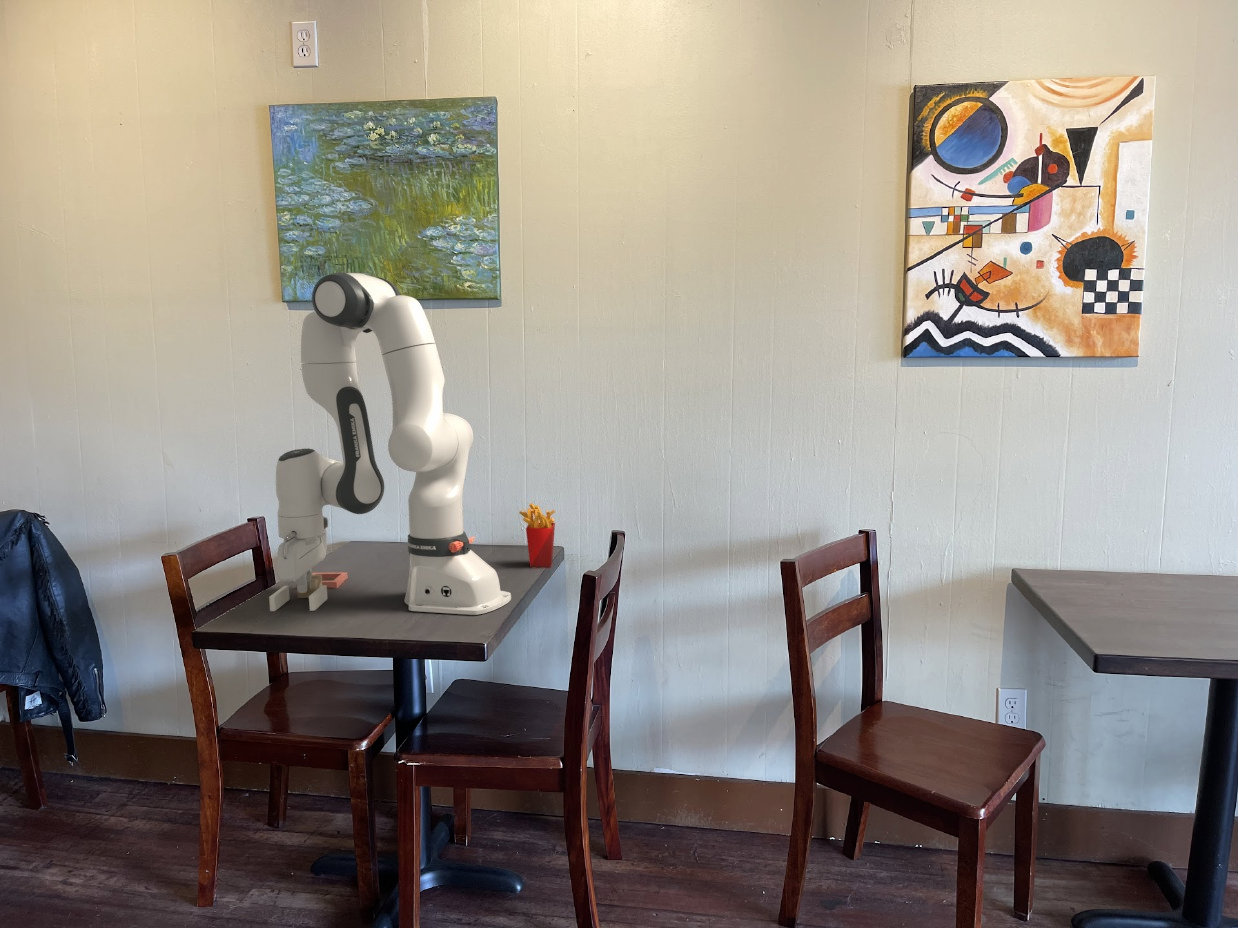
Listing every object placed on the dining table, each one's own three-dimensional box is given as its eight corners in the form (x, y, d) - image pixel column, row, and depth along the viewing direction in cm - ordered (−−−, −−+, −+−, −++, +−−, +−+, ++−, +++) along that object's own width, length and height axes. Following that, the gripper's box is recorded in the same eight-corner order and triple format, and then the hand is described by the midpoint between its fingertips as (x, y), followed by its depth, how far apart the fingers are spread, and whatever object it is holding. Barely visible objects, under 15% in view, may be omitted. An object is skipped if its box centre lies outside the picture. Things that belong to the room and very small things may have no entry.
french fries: (556, 561, 211) (555, 501, 209) (553, 570, 203) (552, 508, 201) (521, 561, 211) (519, 502, 209) (516, 570, 203) (514, 508, 201)
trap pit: (336, 588, 189) (336, 581, 189) (300, 588, 189) (300, 582, 189) (347, 578, 197) (347, 572, 197) (312, 579, 197) (312, 572, 197)
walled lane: (314, 610, 173) (313, 596, 173) (270, 611, 173) (269, 596, 173) (327, 598, 181) (326, 585, 181) (284, 599, 181) (283, 585, 181)
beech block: (316, 597, 182) (315, 579, 182) (297, 597, 182) (296, 579, 182) (322, 592, 186) (321, 574, 186) (304, 592, 186) (303, 574, 186)
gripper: (299, 537, 168) (302, 605, 170) (330, 517, 189) (333, 578, 190) (266, 538, 168) (270, 605, 170) (301, 517, 188) (305, 578, 190)
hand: (304, 590), depth 180 cm, fingers closed
